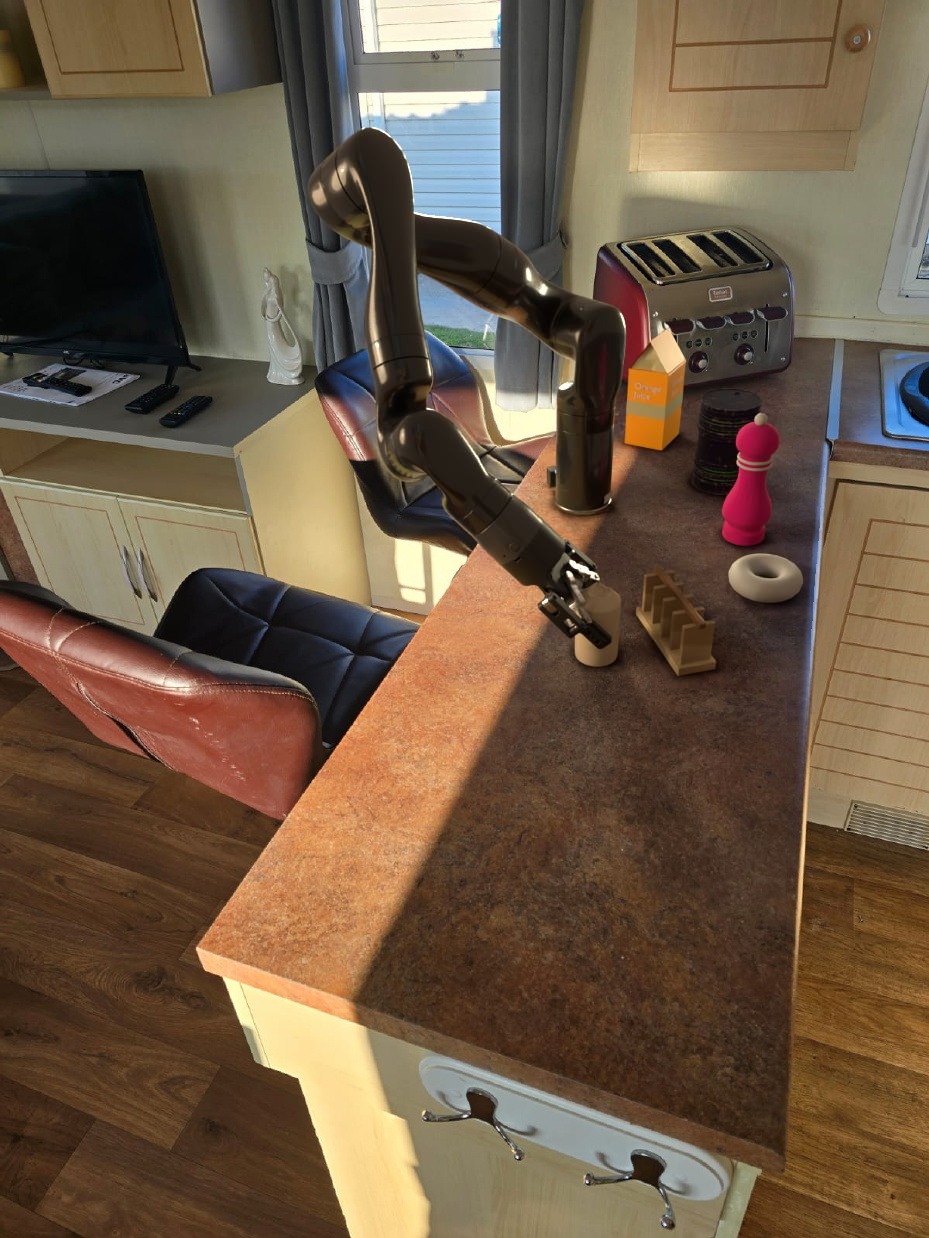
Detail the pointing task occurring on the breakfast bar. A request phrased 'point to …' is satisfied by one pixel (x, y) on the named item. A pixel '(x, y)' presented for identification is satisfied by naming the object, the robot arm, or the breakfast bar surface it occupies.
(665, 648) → the toast rack
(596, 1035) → the breakfast bar surface
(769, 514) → the pepper mill
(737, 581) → the donut
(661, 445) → the orange juice
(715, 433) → the storage jar
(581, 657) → the candle
